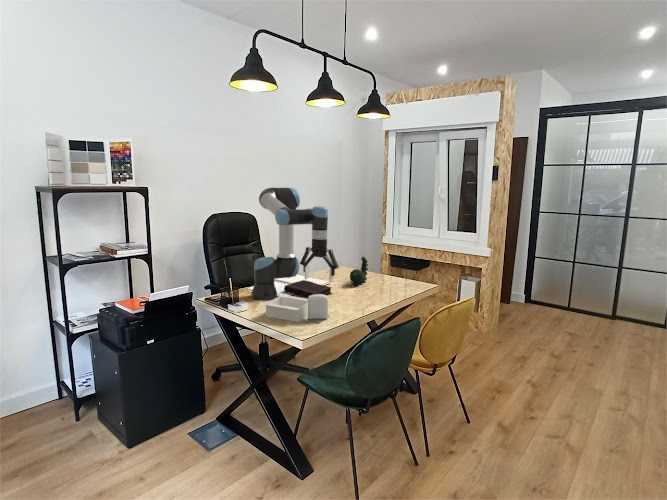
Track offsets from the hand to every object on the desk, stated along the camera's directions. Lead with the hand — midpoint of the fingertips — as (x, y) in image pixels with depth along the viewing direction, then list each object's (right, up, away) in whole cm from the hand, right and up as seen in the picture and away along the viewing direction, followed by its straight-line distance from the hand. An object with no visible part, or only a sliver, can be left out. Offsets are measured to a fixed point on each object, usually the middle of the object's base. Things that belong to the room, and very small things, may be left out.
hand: (318, 280), depth 198 cm
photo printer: (-1, -19, +3) cm, 20 cm away
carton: (-16, -19, +8) cm, 26 cm away
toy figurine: (+25, -8, +75) cm, 80 cm away
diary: (-8, -12, +50) cm, 52 cm away
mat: (0, -20, +3) cm, 20 cm away
